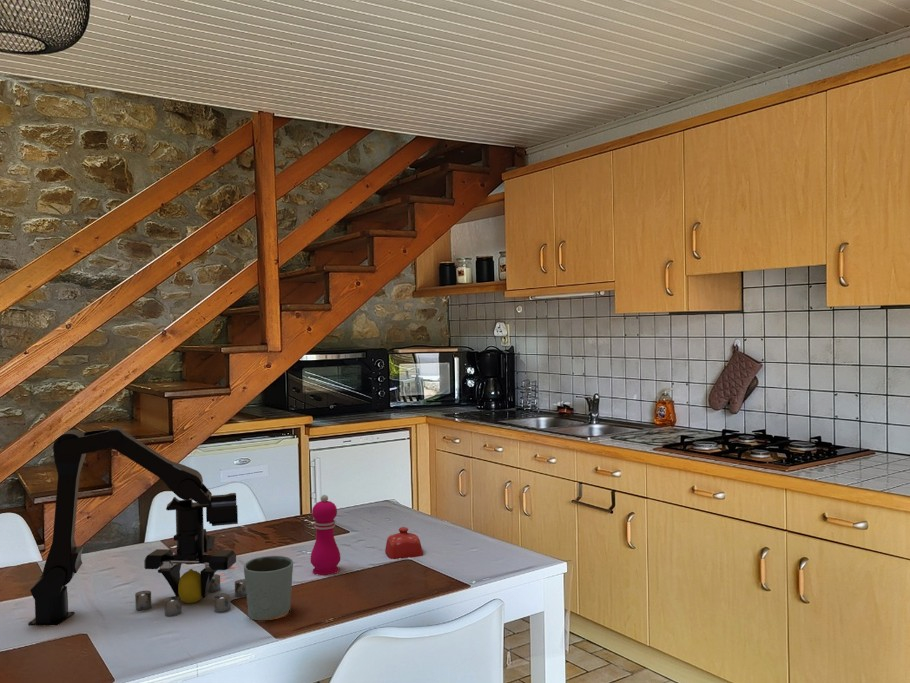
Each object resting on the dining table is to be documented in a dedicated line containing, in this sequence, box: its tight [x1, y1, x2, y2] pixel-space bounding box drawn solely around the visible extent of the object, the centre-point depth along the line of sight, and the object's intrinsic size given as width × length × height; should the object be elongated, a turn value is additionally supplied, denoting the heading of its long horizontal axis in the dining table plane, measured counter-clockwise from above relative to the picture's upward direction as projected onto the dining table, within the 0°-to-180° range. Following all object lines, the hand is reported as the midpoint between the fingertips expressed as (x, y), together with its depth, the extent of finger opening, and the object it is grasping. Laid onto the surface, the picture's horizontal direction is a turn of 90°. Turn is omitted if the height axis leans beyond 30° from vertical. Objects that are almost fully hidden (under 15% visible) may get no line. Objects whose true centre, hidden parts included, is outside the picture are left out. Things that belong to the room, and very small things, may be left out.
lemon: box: [178, 568, 202, 604], centre depth 168 cm, size 6×6×8 cm
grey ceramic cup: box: [243, 555, 294, 620], centre depth 159 cm, size 10×10×12 cm
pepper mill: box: [310, 494, 341, 576], centre depth 185 cm, size 7×7×20 cm
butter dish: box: [384, 526, 424, 560], centre depth 198 cm, size 12×12×8 cm
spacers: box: [134, 573, 247, 617], centre depth 168 cm, size 17×22×4 cm
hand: (191, 597), depth 168 cm, fingers closed on lemon, 5 cm apart
